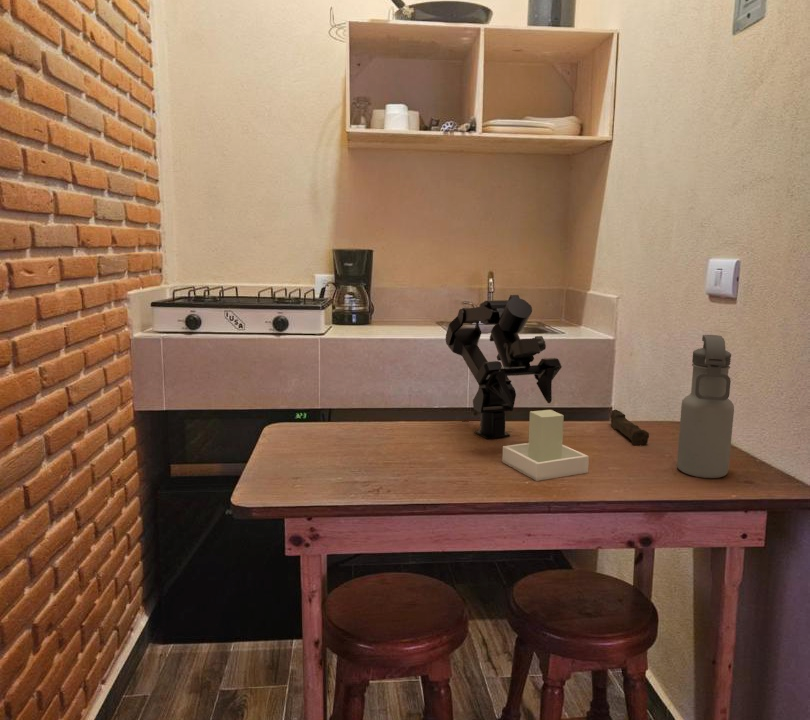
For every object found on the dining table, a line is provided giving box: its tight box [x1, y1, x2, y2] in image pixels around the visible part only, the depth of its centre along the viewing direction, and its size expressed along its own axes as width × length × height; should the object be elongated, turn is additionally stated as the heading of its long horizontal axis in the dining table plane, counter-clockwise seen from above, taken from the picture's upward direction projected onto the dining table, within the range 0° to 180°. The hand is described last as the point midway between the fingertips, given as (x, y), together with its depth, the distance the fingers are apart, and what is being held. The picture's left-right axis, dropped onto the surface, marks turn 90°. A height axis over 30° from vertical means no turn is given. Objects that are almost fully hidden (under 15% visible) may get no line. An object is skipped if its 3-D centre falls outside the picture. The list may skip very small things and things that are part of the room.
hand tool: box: [610, 409, 650, 446], centre depth 164 cm, size 19×4×5 cm, turn 0°
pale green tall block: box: [528, 409, 565, 462], centre depth 139 cm, size 5×5×11 cm
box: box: [501, 442, 590, 482], centre depth 140 cm, size 13×13×4 cm
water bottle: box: [676, 334, 735, 479], centre depth 135 cm, size 10×10×28 cm
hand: (531, 403), depth 144 cm, fingers open, 9 cm apart
